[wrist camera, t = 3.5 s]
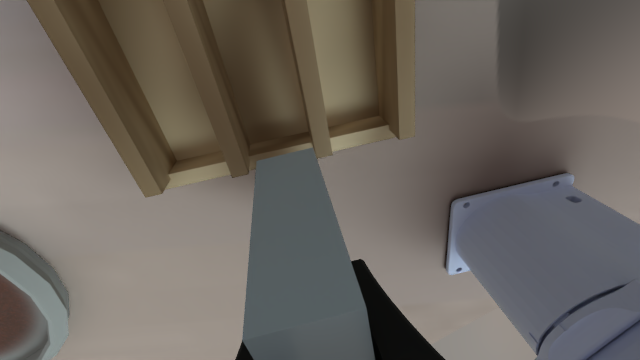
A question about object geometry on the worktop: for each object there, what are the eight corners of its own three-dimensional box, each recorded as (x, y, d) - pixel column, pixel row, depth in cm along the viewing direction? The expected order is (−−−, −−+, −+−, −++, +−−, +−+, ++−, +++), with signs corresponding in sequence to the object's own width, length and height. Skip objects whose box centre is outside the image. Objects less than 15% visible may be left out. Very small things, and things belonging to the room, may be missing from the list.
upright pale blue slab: (312, 147, 11) (365, 307, 5) (342, 282, 15) (391, 459, 9) (256, 160, 11) (242, 340, 5) (302, 293, 15) (325, 478, 9)
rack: (384, -130, 12) (424, -180, 9) (394, 121, 18) (420, 144, 14) (42, -65, 11) (-43, -95, 8) (167, 172, 17) (144, 207, 14)
